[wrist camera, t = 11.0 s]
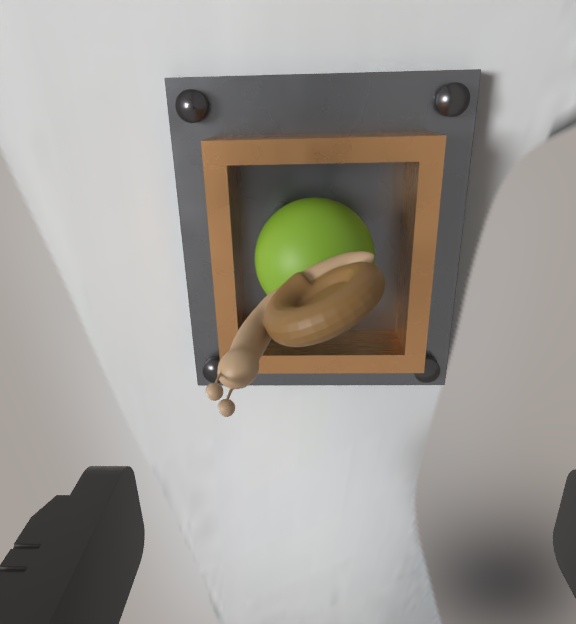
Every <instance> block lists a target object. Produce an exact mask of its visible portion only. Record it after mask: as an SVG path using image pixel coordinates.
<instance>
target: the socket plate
mask: <svg viewBox="0 0 576 624" xmlns="http://www.w3.org/2000/svg"><path fill="white" fill-rule="evenodd" d="M480 73H481V69H478V70H441V71H404V72H367V73H331V74H294V75H257V76H220V77H183V78H165V86H166V96H167V105H168V114H169V123H170V133H171V142H172V151H173V160H174V169H175V179H176V188H177V197H178V206H179V216H180V225H181V234H182V243H183V252H184V262H185V271H186V280H187V289H188V299H189V308H190V317H191V326H192V336H193V345H194V354H195V363H196V372H197V382H198V385H209V384H211V383H215V381H216V379H217V377H218V374H217V371H218V364H219V362H220V360H221V358H222V357H223V356H224V355H225V354H226V353H227V352H228V351H229V350H230V348H231V345H232V342H233V340H234V338H235V336H236V334H237V332H238V330H239V329H240V327H241V326H242V324H243V323H244V321H245V320H246V319H247V317H248V316H249V315H250V314H251V312H252V311H253V310H254V309H255V308H256V307H257V306H258V305H259V303H260V302H261V301H262V300H263V299H264V298H265V297H266V296H267V294H266V293H265V291H264V290H263V288H262V286H261V284H260V282H259V280H258V277H257V273H256V268H255V248H256V243H257V240H258V237H259V234H260V232H261V230H262V228H263V227H264V225H265V224H266V222H267V221H268V220H269V218H270V217H271V216H272V215H273V214H274V213H275V212H277V211H278V210H279V209H280V208H282V207H283V206H285V205H287V204H289V203H291V202H293V201H296V200H300V199H304V198H312V197H319V198H327V199H331V200H334V201H337V202H340V203H342V204H344V205H345V206H347V207H349V208H350V209H351V210H353V211H354V212H355V213H356V214H357V215H358V216H359V217H360V218H361V219H362V220H363V222H364V223H365V225H366V226H367V228H368V230H369V232H370V234H371V237H372V240H373V243H374V248H375V266H377V267H378V268H379V269H380V270H381V271H382V273H383V275H384V279H385V290H384V294H383V296H382V298H381V300H380V302H379V303H378V304H377V306H376V307H375V308H374V309H373V311H372V312H371V313H370V314H369V315H368V316H366V317H365V318H364V319H363V320H362V321H360V322H359V323H358V324H356V325H355V326H353V327H352V328H350V329H349V330H347V331H345V332H344V333H342V334H340V335H338V336H336V337H334V338H332V339H329V340H327V341H324V342H321V343H318V344H315V345H310V346H305V347H289V346H284V345H281V344H279V343H277V342H276V341H274V340H273V339H272V338H271V340H270V342H269V344H268V346H267V348H266V350H265V352H264V353H263V355H262V357H261V358H260V360H259V372H258V374H257V376H256V378H255V379H254V381H253V382H252V383H251V384H249V385H445V378H446V369H447V361H448V352H449V343H450V335H451V326H452V317H453V308H454V300H455V291H456V282H457V274H458V265H459V256H460V247H461V239H462V230H463V221H464V213H465V204H466V195H467V187H468V178H469V169H470V160H471V152H472V143H473V134H474V126H475V117H476V108H477V99H478V91H479V82H480ZM218 384H220V385H223V384H222V383H221V382H220V380H218Z"/></svg>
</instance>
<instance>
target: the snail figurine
mask: <svg viewBox="0 0 576 624" xmlns="http://www.w3.org/2000/svg"><path fill="white" fill-rule="evenodd" d="M255 268H256V273H257V277H258V280H259V282H260V284H261V286H262V288H263V290H264V291H265V293H266V294H267V296H266V297H265V298H264V299H263V300H262V301H261V302H260V303H259V305H258V306H257V307H256V308H255V309H254V310H253V311H252V312H251V314H250V315H249V316H248V317H247V319H246V320H245V321H244V323H243V324H242V326H241V327H240V329H239V330H238V332H237V334H236V336H235V338H234V340H233V342H232V345H231V348H230V350H229V351H228V352H227V353H226V354H225V355H224V356H223V357H222V358H221V360H220V362H219V364H218V371H217V374H218V377H217V379H216V381H215V383H211V384H209V385H208V386H207V388H206V394H207V396H208V398H209V399H211V400H213V401H216V400H219V399H220V398H221V397H222V395H223V388H222V386H221V385H220V384H218V380H220V382H221V383H222V384H223V385H224V386H226V387H228V388H230V390H229V393H228V396H227V399H223V400H221V401H220V402H219V404H218V410H219V412H220V414H221V415H222V416H225V417H228V416H231V415H232V414H233V413H234V411H235V405H234V403H233V402H232V401H231V400H229V397H230V395H231V392H232V391H233V390H234V389H240V388H244V387H246V386H248V385H249V384H251V383H252V382H253V381H254V379H255V378H256V376H257V374H258V372H259V360H260V358H261V357H262V355H263V353H264V352H265V350H266V348H267V346H268V344H269V342H270V340H271V338H272V339H273V340H274V341H276V342H277V343H279V344H281V345H284V346H289V347H305V346H310V345H315V344H318V343H321V342H324V341H327V340H329V339H332V338H334V337H336V336H338V335H340V334H342V333H344V332H345V331H347V330H349V329H350V328H352V327H353V326H355V325H356V324H358V323H359V322H360V321H362V320H363V319H364V318H365V317H366V316H368V315H369V314H370V313H371V312H372V311H373V309H374V308H375V307H376V306H377V304H378V303H379V302H380V300H381V298H382V296H383V294H384V290H385V279H384V275H383V273H382V271H381V270H380V269H379V268H378V267H377V266H375V248H374V243H373V240H372V237H371V234H370V232H369V230H368V228H367V226H366V225H365V223H364V222H363V220H362V219H361V218H360V217H359V216H358V215H357V214H356V213H355V212H354V211H353V210H351V209H350V208H349V207H347V206H345V205H344V204H342V203H340V202H337V201H334V200H331V199H327V198H319V197H312V198H304V199H300V200H296V201H293V202H291V203H289V204H287V205H285V206H283V207H282V208H280V209H279V210H278V211H277V212H275V213H274V214H273V215H272V216H271V217H270V218H269V220H268V221H267V222H266V224H265V225H264V227H263V228H262V230H261V232H260V234H259V237H258V240H257V243H256V248H255Z"/></svg>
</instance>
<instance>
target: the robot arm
mask: <svg viewBox="0 0 576 624" xmlns="http://www.w3.org/2000/svg"><path fill="white" fill-rule="evenodd" d="M553 546H554V552H555V556H556V560H557V563H558V565H559V568H560V570H561V571H562V574H563V576H564V577H565V579H566V581H567V583H568V585H569V587H570V589H571V590H572V592H573V594H574V596H575V598H576V470H572V471H571V472H570V473H569V475H568V477H567V480H566V484H565V488H564V492H563V496H562V500H561V504H560V508H559V512H558V516H557V520H556V524H555V527H554V532H553ZM143 548H144V523H143V518H142V513H141V507H140V502H139V496H138V491H137V486H136V480H135V475H134V472H133V470H132V468H131V467H128V466H90V467H88V468H87V469H86V470H85V471H84V472H83V474H82V476H81V477H80V479H79V481H78V483H77V484H76V486H75V488H74V489H73V491H72V493H71V495H57V496H55V497H54V498H53V499H52V500H51V501H50V502H48V503H47V504H46V505H45V506H44V507H43V508H42V509H40V510H39V511H38V512H37V513H36V514H35V515H33V516H32V517H31V519H30V520H29V522H28V523H27V525H26V526H25V528H24V529H23V531H22V532H21V534H20V535H19V537H18V539H17V540H16V542H15V543H14V548H13V549H11V550H10V551H9V553H8V554H7V555H6V557H5V559H4V560H3V562H2V563H1V565H0V624H119V621H120V618H121V616H122V613H123V610H124V607H125V604H126V601H127V599H128V596H129V593H130V590H131V587H132V585H133V582H134V579H135V576H136V573H137V570H138V568H139V564H140V561H141V558H142V553H143Z"/></svg>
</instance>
